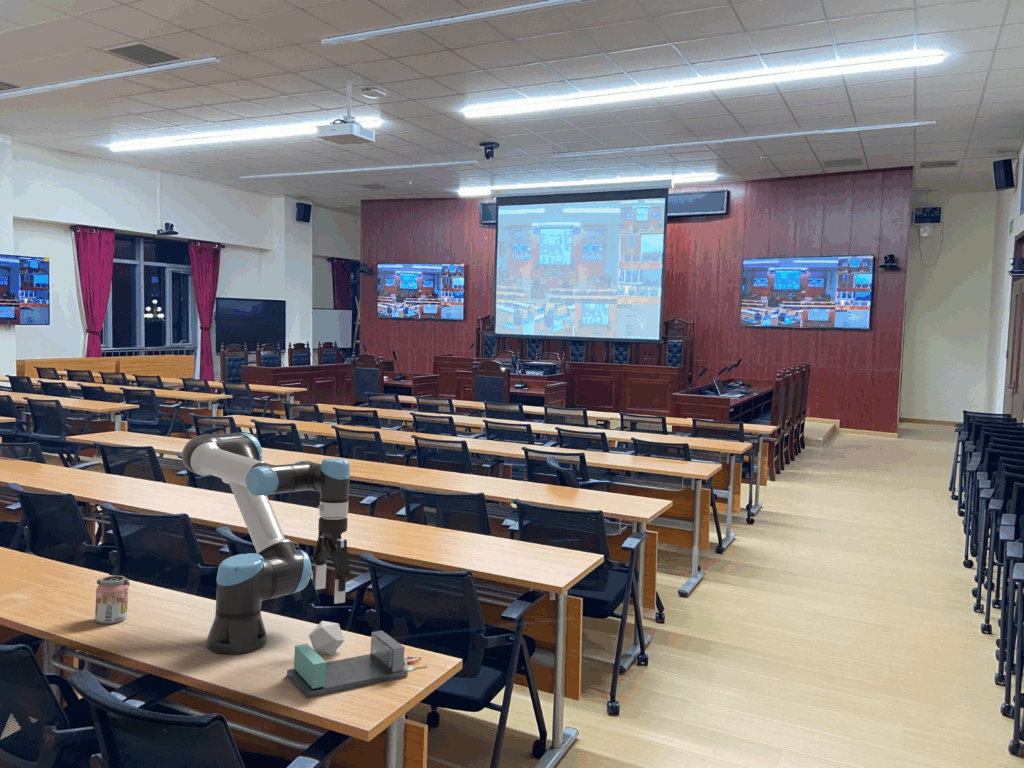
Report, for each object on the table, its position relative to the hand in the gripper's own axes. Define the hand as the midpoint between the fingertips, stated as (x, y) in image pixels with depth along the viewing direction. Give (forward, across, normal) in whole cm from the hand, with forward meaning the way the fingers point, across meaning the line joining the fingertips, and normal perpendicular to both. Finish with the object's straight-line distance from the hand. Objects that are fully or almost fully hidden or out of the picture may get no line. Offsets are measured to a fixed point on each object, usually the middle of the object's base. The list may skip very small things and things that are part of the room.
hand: (329, 595), depth 198 cm
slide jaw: (+14, +17, -11) cm, 24 cm away
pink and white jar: (+15, -50, -45) cm, 69 cm away
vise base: (+15, +17, -1) cm, 23 cm away
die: (+16, 0, 0) cm, 16 cm away
